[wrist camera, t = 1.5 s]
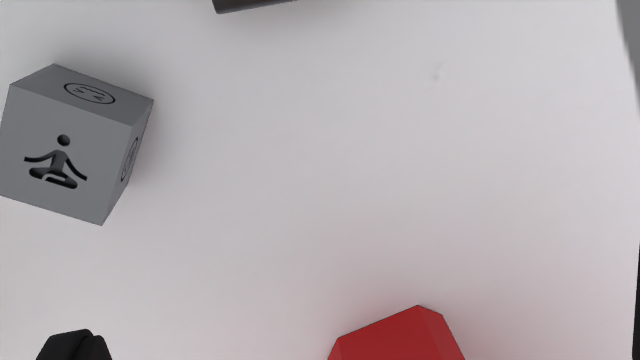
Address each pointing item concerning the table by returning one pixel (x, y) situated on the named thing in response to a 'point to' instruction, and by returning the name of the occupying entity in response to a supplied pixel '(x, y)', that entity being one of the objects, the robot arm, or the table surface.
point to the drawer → (243, 4)
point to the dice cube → (69, 142)
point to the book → (400, 339)
